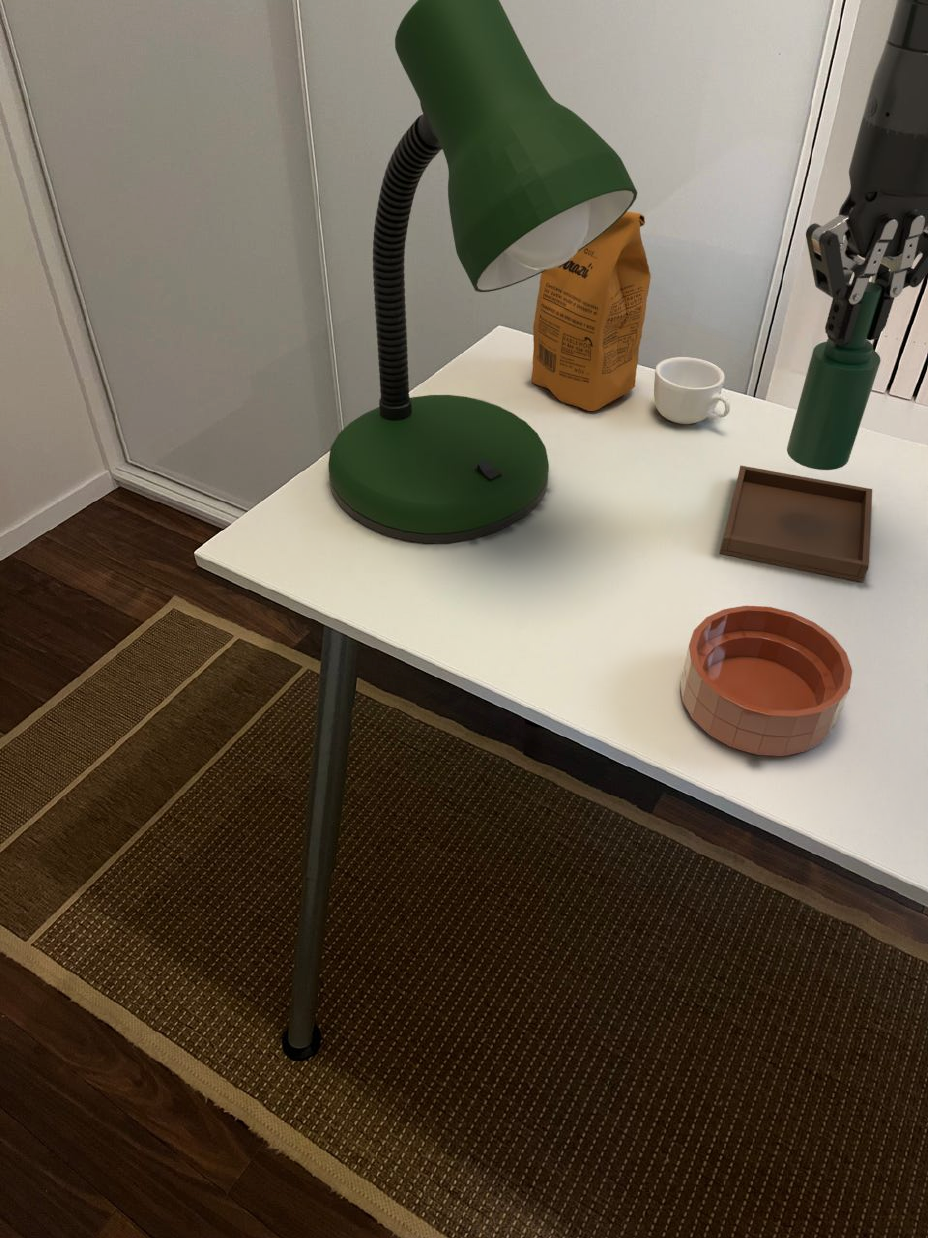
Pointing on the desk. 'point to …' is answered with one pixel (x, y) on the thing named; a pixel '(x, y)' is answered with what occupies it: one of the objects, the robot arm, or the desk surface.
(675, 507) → the desk surface
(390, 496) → the desk lamp
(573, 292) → the coffee package
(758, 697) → the bowl
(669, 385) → the teacup
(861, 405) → the bottle
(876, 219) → the robot arm
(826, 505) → the tray
